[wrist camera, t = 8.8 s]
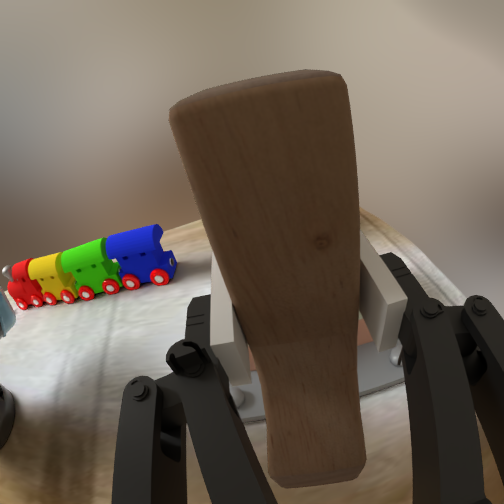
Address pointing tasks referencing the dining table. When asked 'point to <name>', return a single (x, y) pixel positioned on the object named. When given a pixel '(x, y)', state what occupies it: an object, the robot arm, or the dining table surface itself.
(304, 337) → the wooden block
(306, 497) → the dining table surface
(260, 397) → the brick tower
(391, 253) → the robot arm
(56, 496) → the dining table surface
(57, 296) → the toy train
